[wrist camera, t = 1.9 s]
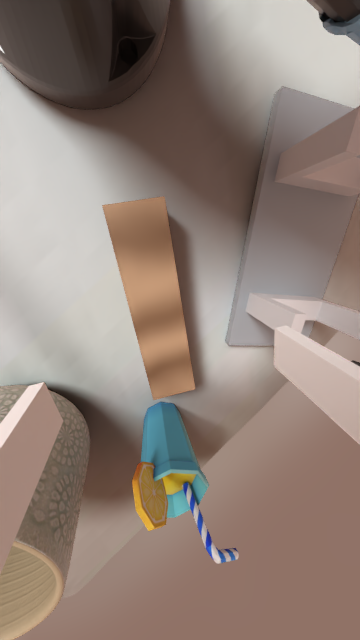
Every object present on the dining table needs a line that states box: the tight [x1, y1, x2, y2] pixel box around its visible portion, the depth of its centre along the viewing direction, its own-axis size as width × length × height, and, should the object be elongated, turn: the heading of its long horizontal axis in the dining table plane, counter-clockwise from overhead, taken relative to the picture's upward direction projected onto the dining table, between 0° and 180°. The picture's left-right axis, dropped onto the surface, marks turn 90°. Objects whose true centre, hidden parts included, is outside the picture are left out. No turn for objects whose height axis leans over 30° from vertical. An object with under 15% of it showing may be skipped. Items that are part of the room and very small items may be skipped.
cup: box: [132, 402, 239, 563], centre depth 25 cm, size 14×8×15 cm, turn 48°
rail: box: [102, 196, 195, 400], centre depth 23 cm, size 20×5×5 cm, turn 9°
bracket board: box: [225, 86, 360, 346], centre depth 21 cm, size 26×12×9 cm, turn 174°
